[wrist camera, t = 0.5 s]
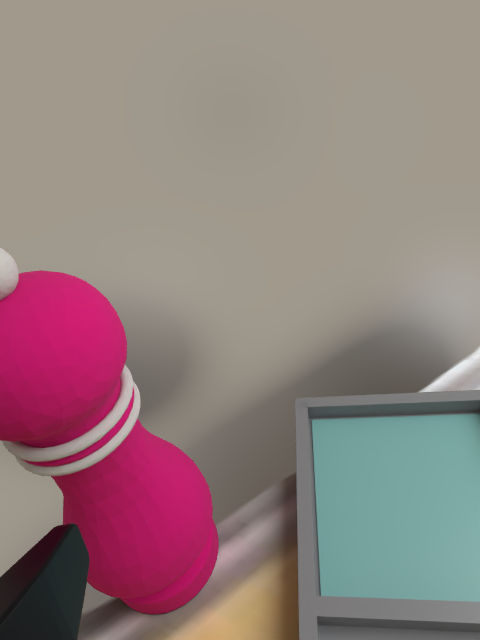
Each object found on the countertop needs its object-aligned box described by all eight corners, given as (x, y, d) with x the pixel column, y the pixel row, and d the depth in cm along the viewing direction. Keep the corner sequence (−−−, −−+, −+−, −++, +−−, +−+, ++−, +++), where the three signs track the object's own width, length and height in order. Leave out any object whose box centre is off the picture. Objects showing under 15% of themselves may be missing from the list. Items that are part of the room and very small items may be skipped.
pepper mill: (124, 660, 21) (-223, 382, 8) (91, 533, 26) (-151, 249, 14) (250, 572, 23) (123, 245, 10) (196, 471, 28) (69, 176, 16)
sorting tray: (907, 1316, 9) (993, 1389, 8) (313, 1158, 11) (308, 1196, 10) (490, 409, 28) (496, 389, 27) (297, 416, 30) (295, 398, 29)
